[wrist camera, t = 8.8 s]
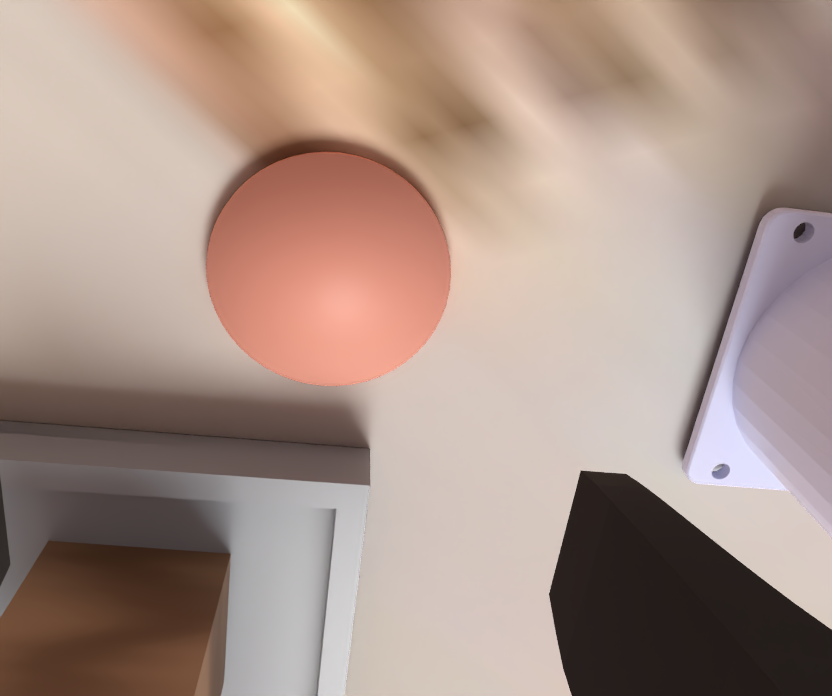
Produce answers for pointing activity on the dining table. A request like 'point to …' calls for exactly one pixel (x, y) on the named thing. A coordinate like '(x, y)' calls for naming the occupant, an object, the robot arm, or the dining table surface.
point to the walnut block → (117, 623)
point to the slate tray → (209, 531)
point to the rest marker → (328, 268)
